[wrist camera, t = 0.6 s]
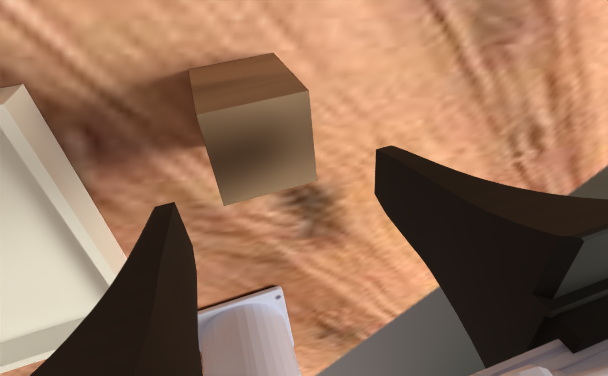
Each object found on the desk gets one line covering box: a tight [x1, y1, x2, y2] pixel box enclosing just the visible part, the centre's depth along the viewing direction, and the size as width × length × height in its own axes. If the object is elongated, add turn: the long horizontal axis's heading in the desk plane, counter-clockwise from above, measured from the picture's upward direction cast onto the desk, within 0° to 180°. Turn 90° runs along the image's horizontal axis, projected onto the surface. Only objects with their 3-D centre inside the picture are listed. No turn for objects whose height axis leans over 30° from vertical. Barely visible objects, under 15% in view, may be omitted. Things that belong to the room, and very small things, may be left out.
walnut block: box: [188, 53, 317, 206], centre depth 17 cm, size 4×4×6 cm
